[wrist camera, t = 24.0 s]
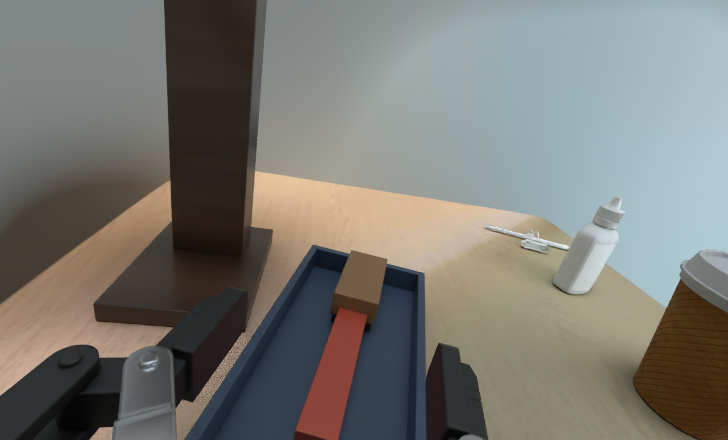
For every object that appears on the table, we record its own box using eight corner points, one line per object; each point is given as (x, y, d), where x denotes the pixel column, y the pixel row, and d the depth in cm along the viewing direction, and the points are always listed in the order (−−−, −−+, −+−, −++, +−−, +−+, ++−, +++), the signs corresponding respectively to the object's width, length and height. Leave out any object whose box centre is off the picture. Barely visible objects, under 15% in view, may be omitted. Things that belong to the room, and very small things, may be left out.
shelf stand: (244, 332, 25) (292, -335, 12) (95, 321, 24) (-30, -468, 11) (271, 241, 38) (309, -138, 25) (175, 229, 36) (162, -184, 23)
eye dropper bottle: (603, 300, 41) (657, 209, 36) (559, 293, 40) (608, 199, 35) (581, 279, 45) (628, 195, 40) (541, 272, 44) (583, 186, 39)
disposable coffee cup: (695, 473, 22) (834, 333, 17) (586, 357, 31) (659, 241, 26) (793, 464, 24) (942, 337, 19) (666, 358, 33) (748, 251, 28)
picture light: (572, 250, 53) (578, 239, 52) (582, 264, 49) (589, 251, 48) (483, 227, 55) (487, 215, 54) (486, 238, 51) (491, 225, 50)
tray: (410, 585, 15) (427, 552, 13) (166, 507, 15) (163, 470, 14) (417, 296, 34) (424, 273, 33) (309, 268, 35) (313, 244, 34)
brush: (344, 468, 17) (354, 430, 16) (279, 449, 18) (285, 410, 16) (380, 285, 33) (387, 258, 32) (345, 276, 33) (351, 249, 32)
